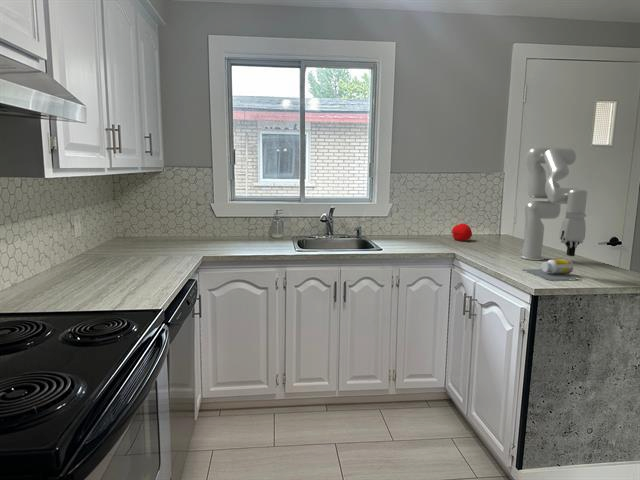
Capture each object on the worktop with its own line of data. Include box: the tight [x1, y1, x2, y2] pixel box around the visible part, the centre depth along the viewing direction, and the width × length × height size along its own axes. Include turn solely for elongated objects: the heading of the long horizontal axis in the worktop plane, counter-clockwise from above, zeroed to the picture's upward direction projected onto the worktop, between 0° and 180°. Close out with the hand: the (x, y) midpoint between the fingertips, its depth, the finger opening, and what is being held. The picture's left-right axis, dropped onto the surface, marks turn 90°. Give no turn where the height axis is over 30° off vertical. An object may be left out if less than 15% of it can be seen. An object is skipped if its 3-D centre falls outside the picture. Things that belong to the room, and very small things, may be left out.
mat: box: [522, 268, 578, 281], centre depth 205 cm, size 20×16×1 cm
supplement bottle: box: [540, 258, 575, 274], centre depth 205 cm, size 7×7×13 cm
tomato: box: [451, 223, 473, 242], centre depth 299 cm, size 13×13×13 cm
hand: (570, 255), depth 204 cm, fingers closed
